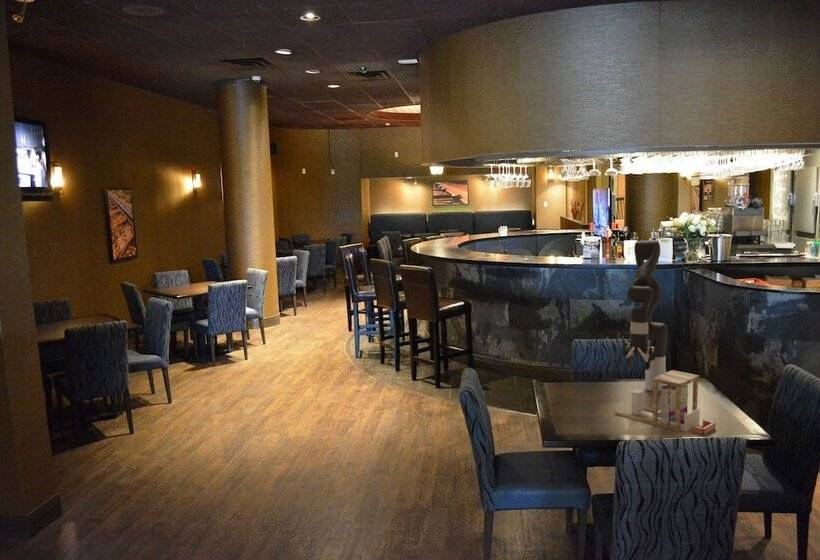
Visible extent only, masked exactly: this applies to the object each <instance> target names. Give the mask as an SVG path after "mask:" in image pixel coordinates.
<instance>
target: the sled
mask: <svg viewBox="0 0 820 560" xmlns="http://www.w3.org/2000/svg"><path fill="white" fill-rule="evenodd" d="M644 395H645V393H644V390H641V389H636V390H633V391H631V415H634V416H640V417H644V418H647V419H649V420H653V412H651V411H650V412H649V411H646V410H644V409H643V405H644ZM659 410H660V411H658V422H660V423H664V424H666V420H663V419H661V409H659ZM700 412H701V409H700V408H699V407H697V409H694V410H690V411H689V412H688V411H687V413H686V414H684V423H680V431H682V432H689V431H690V430H692V426H697V427H699V426H700V417H701V413H700ZM670 425H671V426H675V422H673V421H670Z"/></svg>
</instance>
